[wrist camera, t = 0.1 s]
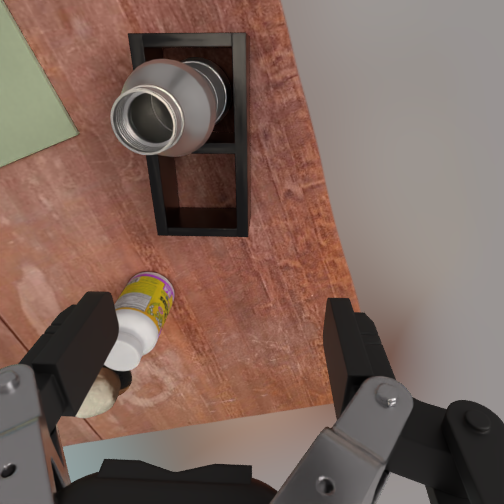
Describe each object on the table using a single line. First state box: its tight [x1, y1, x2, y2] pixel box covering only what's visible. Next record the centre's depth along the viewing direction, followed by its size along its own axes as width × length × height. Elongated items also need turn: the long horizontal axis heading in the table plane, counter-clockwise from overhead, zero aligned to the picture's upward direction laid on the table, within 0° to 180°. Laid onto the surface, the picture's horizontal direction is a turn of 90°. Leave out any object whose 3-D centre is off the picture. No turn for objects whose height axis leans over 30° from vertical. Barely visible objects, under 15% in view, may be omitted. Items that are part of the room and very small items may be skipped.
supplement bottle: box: [104, 272, 174, 371], centre depth 44 cm, size 7×7×13 cm
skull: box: [75, 365, 132, 418], centre depth 57 cm, size 12×10×10 cm
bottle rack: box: [128, 33, 251, 237], centre depth 37 cm, size 19×10×6 cm, turn 0°
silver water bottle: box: [111, 57, 232, 157], centre depth 28 cm, size 6×7×20 cm
